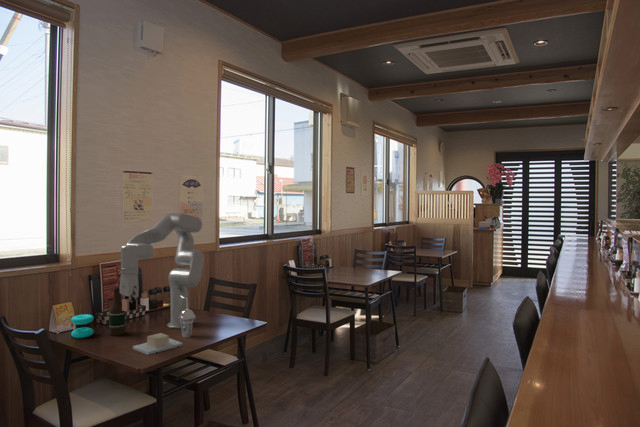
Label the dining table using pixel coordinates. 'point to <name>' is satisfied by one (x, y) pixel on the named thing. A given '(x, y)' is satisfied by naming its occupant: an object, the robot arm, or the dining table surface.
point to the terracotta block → (126, 305)
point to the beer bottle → (117, 315)
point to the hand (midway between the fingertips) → (129, 308)
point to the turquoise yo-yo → (85, 330)
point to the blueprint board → (153, 350)
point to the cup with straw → (186, 320)
